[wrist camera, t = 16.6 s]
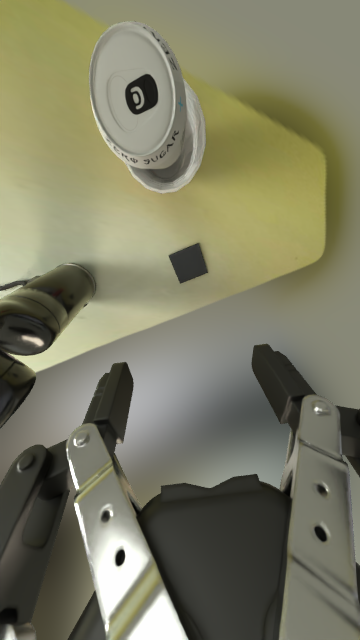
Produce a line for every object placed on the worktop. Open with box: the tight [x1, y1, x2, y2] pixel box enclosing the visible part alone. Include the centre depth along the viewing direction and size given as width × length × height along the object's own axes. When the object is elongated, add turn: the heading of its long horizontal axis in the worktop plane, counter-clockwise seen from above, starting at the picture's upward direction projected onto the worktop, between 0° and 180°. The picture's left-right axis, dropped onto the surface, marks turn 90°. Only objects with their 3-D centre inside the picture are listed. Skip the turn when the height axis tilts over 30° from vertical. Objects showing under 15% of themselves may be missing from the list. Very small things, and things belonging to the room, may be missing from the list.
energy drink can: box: [89, 21, 186, 169], centre depth 16 cm, size 6×6×15 cm
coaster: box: [169, 243, 208, 284], centre depth 42 cm, size 7×7×1 cm
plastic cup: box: [125, 79, 206, 194], centre depth 27 cm, size 11×11×12 cm
